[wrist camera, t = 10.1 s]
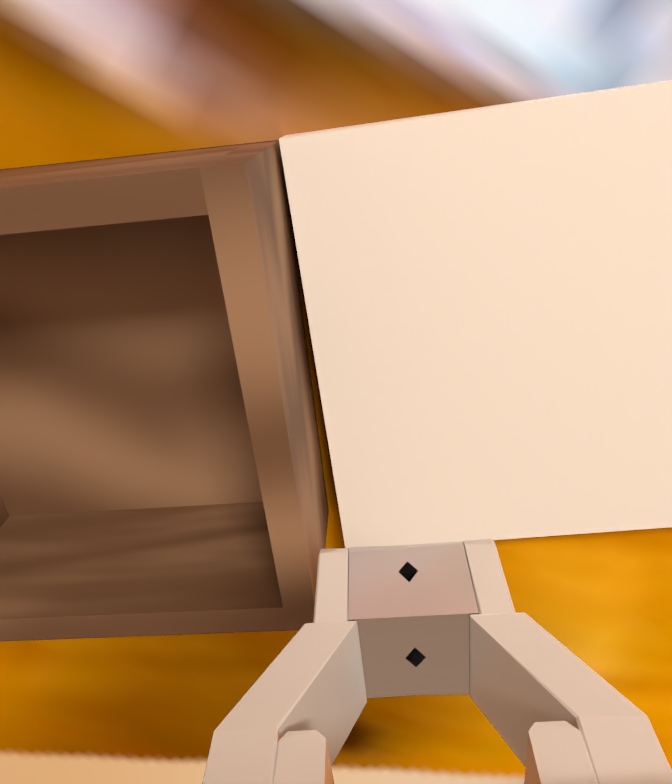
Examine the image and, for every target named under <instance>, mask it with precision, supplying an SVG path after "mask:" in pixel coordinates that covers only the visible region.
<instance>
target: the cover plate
mask: <svg viewBox="0 0 672 784" xmlns="http://www.w3.org/2000/svg"><path fill="white" fill-rule="evenodd" d="M279 144H280V150H281V156H282V162H283V168H284V174H285V180H286V187H287V193H288V199H289V205H290V211H291V217H292V224H293V230H294V236H295V242H296V248H297V254H298V260H299V267H300V273H301V279H302V285H303V291H304V297H305V304H306V310H307V316H308V322H309V328H310V334H311V341H312V347H313V353H314V359H315V365H316V371H317V377H318V384H319V390H320V396H321V402H322V408H323V414H324V421H325V427H326V433H327V439H328V445H329V451H330V457H331V464H332V470H333V476H334V482H335V488H336V494H337V501H338V507H339V513H340V519H341V525H342V531H343V538H344V544H345V548H350V547H371V546H399V545H414V544H429V543H444V542H459V541H461V542H463V541H468V540H481V539H492V540H502V539H516V538H530V537H544V536H557V535H571V534H585V533H599V532H612V531H626V530H640V529H654V528H667V527H672V80H668V81H661V82H654V83H647V84H640V85H633V86H626V87H619V88H612V89H605V90H598V91H591V92H584V93H577V94H570V95H563V96H556V97H549V98H542V99H536V100H529V101H522V102H515V103H508V104H501V105H494V106H487V107H480V108H473V109H466V110H459V111H452V112H445V113H438V114H431V115H424V116H417V117H410V118H403V119H396V120H390V121H383V122H376V123H369V124H362V125H355V126H348V127H341V128H334V129H327V130H320V131H313V132H306V133H299V134H292V135H285V136H283V137H281V138H279Z"/></svg>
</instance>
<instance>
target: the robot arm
mask: <svg viewBox="0 0 672 784" xmlns="http://www.w3.org/2000/svg"><path fill="white" fill-rule="evenodd" d="M449 694H470V697H471V698H472V700H473V701H474V702H475V704H476V705H477V706H478V707H479V709H480V710H481V711H482V712H483V714H484V715H485V716H486V717H487V719H488V720H489V721H490V723H491V724H492V725H493V726H494V728H495V729H496V730H497V731H498V733H499V734H500V735H501V737H502V738H503V739H504V740H505V742H506V743H507V744H508V745H509V747H510V748H511V749H512V750H513V752H514V753H515V754H516V756H517V757H518V758H519V759H520V761H521V762H522V763H523V764H524V766H525V767H526V769H525V782H524V784H672V770H671V768H670V765H669V763H668V761H667V759H666V756H665V754H664V752H663V750H662V748H661V745H660V743H659V741H658V739H657V736H656V734H655V732H654V730H653V727H652V725H651V723H650V721H649V719H648V716H647V715H646V714H644V713H643V712H642V711H641V710H640V709H639V708H637V707H636V706H635V705H634V704H633V703H631V702H630V701H629V700H628V699H627V698H625V697H624V696H623V695H622V694H621V693H620V692H618V691H617V690H616V689H615V688H614V687H612V686H611V685H610V684H609V683H608V682H607V681H605V680H604V679H603V678H602V677H601V676H599V675H598V674H597V673H596V672H595V671H593V670H592V669H591V668H590V667H589V666H588V665H586V664H585V663H584V662H583V661H582V660H580V659H579V658H578V657H577V656H576V655H575V654H573V653H572V652H571V651H570V650H569V649H567V648H566V647H565V646H564V645H563V644H561V643H560V642H559V641H558V640H557V639H556V638H554V637H553V636H552V635H551V634H550V633H548V632H547V631H546V630H545V629H544V628H543V627H541V626H540V625H539V624H538V623H537V622H535V621H534V620H533V619H532V618H531V617H529V616H528V615H527V614H526V613H525V612H522V613H515V609H514V606H513V603H512V599H511V596H510V593H509V589H508V586H507V582H506V579H505V576H504V572H503V569H502V566H501V562H500V559H499V555H498V552H497V549H496V545H495V542H494V541H493V540H492V539H481V540H468V541H463V542H461V541H459V542H444V543H429V544H414V545H399V546H371V547H350V548H331V549H321V550H320V553H319V555H318V568H317V580H316V593H315V606H314V619H313V623H305V624H304V625H303V626H302V627H301V628H300V630H299V631H298V632H297V633H296V634H295V636H294V637H293V638H292V639H291V640H290V641H289V643H288V644H287V645H286V646H285V647H284V649H283V650H282V651H281V652H280V653H279V654H278V656H277V657H276V658H275V659H274V660H273V662H272V663H271V664H270V665H269V666H268V667H267V669H266V670H265V671H264V672H263V673H262V675H261V676H260V677H259V678H258V679H257V681H256V682H255V683H254V684H253V685H252V686H251V688H250V689H249V690H248V691H247V692H246V694H245V695H244V696H243V697H242V698H241V699H240V701H239V702H238V703H237V704H236V705H235V707H234V708H233V709H232V710H231V711H230V712H229V714H228V715H227V716H226V717H225V718H224V720H223V721H222V722H221V723H220V724H219V726H218V727H217V728H216V729H215V730H214V733H213V738H212V742H211V747H210V751H209V756H208V760H207V765H206V769H205V774H204V779H203V783H202V784H334V780H333V775H332V769H331V766H332V764H333V763H334V761H335V759H336V757H337V755H338V754H339V752H340V750H341V748H342V746H343V744H344V743H345V741H346V739H347V737H348V735H349V734H350V732H351V730H352V728H353V726H354V725H355V723H356V721H357V719H358V717H359V716H360V714H361V712H362V710H363V708H364V706H365V705H366V703H367V698H380V697H394V696H409V695H449Z"/></svg>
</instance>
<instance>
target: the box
mask: <svg viewBox="0 0 672 784" xmlns="http://www.w3.org/2000/svg"><path fill="white" fill-rule="evenodd" d="M327 523H328V503H327V496H326V488H325V480H324V473H323V465H322V458H321V450H320V442H319V435H318V427H317V420H316V412H315V404H314V397H313V389H312V381H311V374H310V366H309V359H308V351H307V343H306V336H305V328H304V321H303V313H302V305H301V298H300V290H299V283H298V275H297V267H296V260H295V252H294V244H293V237H292V229H291V222H290V214H289V206H288V199H287V191H286V184H285V176H284V168H283V162H282V156H281V150H280V144H279V140H275V141H266V142H256V143H247V144H238V145H228V146H219V147H209V148H200V149H190V150H181V151H171V152H162V153H153V154H143V155H134V156H124V157H115V158H105V159H96V160H87V161H77V162H68V163H58V164H49V165H39V166H30V167H20V168H11V169H2V170H0V641H24V640H50V639H76V638H102V637H129V636H155V635H181V634H207V633H233V632H259V631H285V630H300V628H301V627H302V626H303V625H304V624H305V623H313V619H314V606H315V593H316V580H317V568H318V555H319V553H320V550H321V549H325V546H326V534H327Z"/></svg>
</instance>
